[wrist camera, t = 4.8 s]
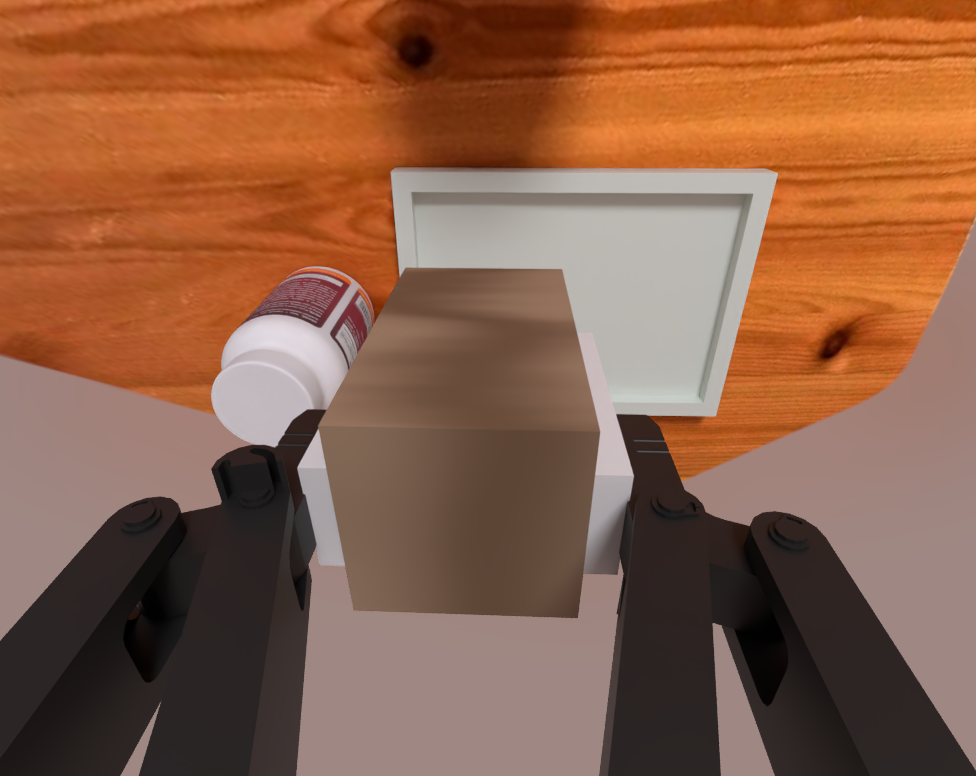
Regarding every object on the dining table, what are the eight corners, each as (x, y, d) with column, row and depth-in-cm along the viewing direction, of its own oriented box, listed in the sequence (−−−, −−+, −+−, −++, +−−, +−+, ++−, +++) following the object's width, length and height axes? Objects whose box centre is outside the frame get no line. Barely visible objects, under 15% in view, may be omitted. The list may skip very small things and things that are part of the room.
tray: (414, 400, 37) (411, 412, 36) (395, 167, 30) (390, 171, 28) (708, 404, 37) (715, 416, 36) (765, 168, 29) (778, 173, 28)
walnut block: (416, 400, 20) (353, 610, 12) (405, 267, 18) (318, 426, 10) (553, 403, 20) (577, 617, 12) (562, 269, 17) (600, 432, 10)
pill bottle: (258, 312, 34) (165, 407, 25) (314, 241, 32) (235, 317, 22) (339, 372, 36) (282, 481, 27) (397, 310, 34) (357, 405, 25)
